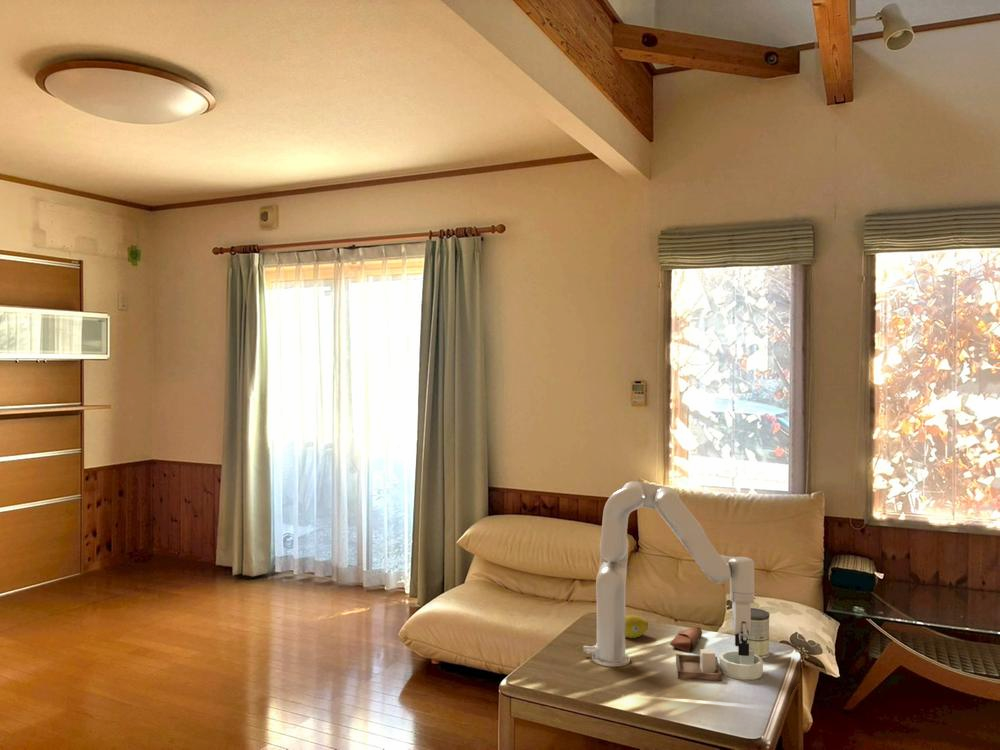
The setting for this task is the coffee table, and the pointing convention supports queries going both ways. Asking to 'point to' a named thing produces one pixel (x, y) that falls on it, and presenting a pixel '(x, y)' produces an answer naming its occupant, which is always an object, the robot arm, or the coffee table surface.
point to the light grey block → (748, 658)
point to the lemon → (635, 626)
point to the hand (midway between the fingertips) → (741, 650)
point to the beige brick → (707, 660)
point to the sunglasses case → (687, 639)
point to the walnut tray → (695, 669)
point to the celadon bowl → (740, 666)
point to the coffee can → (759, 632)
